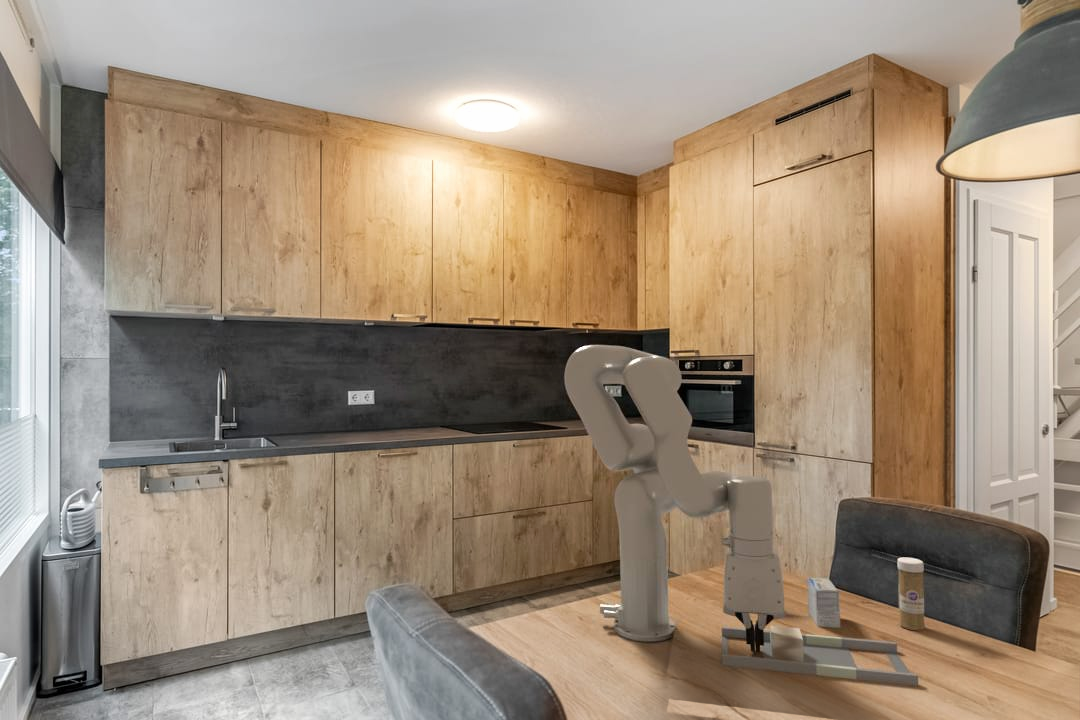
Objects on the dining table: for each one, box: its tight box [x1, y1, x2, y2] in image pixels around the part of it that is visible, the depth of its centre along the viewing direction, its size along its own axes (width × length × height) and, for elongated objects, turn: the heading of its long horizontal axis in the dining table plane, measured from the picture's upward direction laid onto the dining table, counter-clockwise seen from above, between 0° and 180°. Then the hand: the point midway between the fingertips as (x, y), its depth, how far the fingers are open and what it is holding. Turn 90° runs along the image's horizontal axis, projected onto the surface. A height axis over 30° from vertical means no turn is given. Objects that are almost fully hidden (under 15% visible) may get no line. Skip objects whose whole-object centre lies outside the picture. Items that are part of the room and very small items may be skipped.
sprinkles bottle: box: [896, 556, 926, 631], centre depth 126 cm, size 5×5×13 cm
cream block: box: [769, 625, 804, 662], centre depth 111 cm, size 5×5×4 cm
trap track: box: [721, 626, 919, 687], centre depth 110 cm, size 30×13×3 cm, turn 74°
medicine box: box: [807, 577, 841, 628], centre depth 127 cm, size 8×4×9 cm, turn 168°
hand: (755, 648), depth 112 cm, fingers closed
